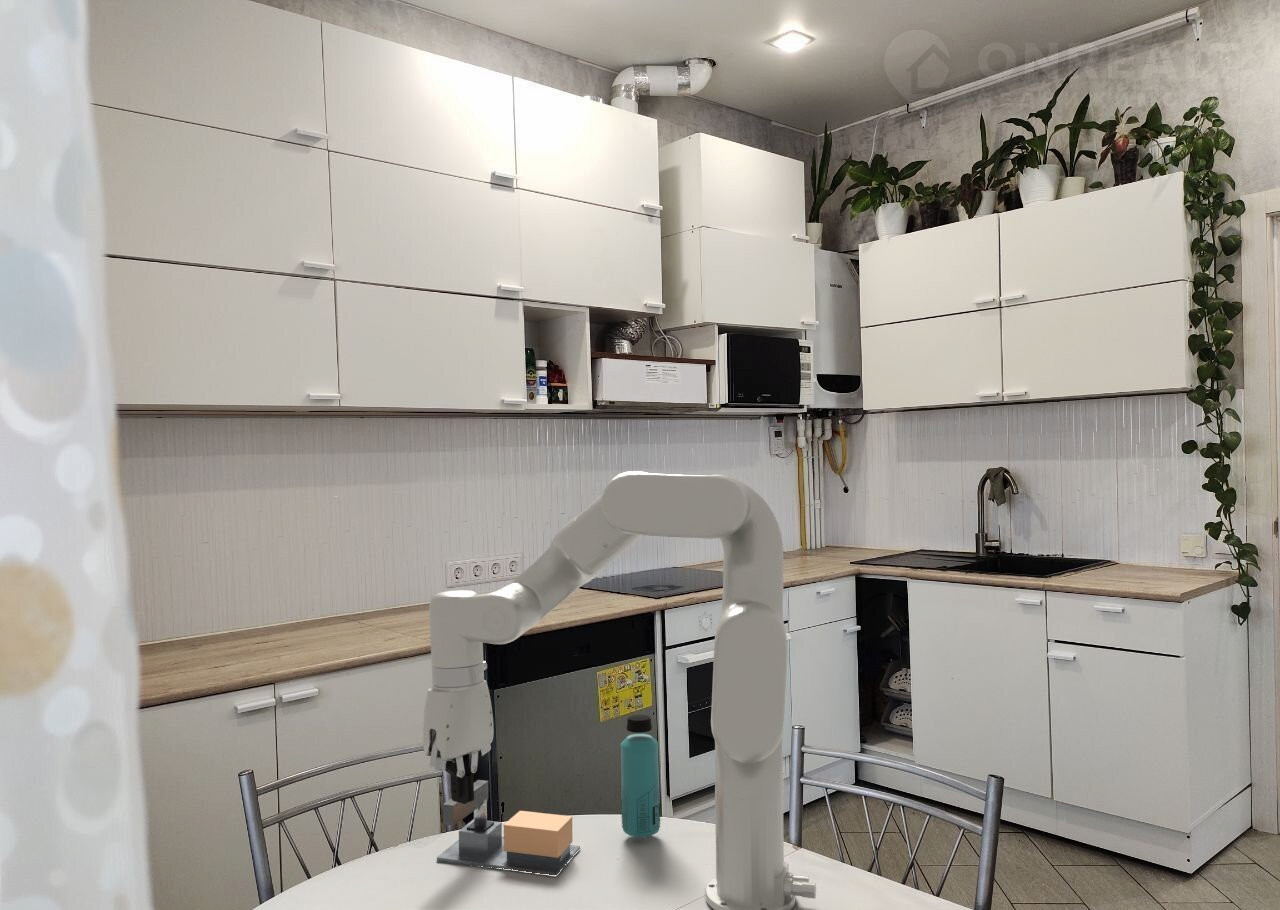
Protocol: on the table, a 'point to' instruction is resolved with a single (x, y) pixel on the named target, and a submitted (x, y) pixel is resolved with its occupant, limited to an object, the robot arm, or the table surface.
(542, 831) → the cover
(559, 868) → the latch base
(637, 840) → the table surface
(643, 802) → the beverage bottle
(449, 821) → the t key
